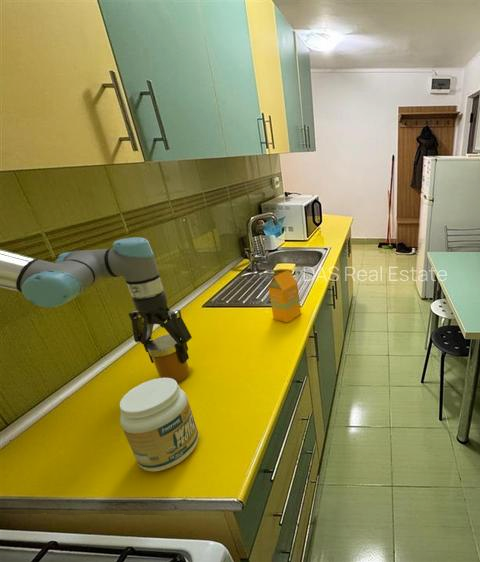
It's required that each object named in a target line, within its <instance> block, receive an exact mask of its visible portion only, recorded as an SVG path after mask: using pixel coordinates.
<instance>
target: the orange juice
mask: <svg viewBox="0 0 480 562" xmlns="http://www.w3.org/2000/svg"><path fill="white" fill-rule="evenodd" d="M298 286H299V285H298V282H297V280H296V279H295V277H294V276H293V275H292V273H291V271H290V270H289V268H288V269H286V270H284V271H282V272H280V273H277V274H276V275H274V276H273V277H272V279H271V281H270V284H269V286H268V293H269V297H270V298H269V299H270V305H271V306H270V307H271V311H272V318H273V320H276V321H280V322H283V323H285V324H287V323H290V322H291V321H293V320H294V319H295V318H297V317H299V316H300V315H301V314H302V310H301V303H300V294H299V287H298Z"/></svg>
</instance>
